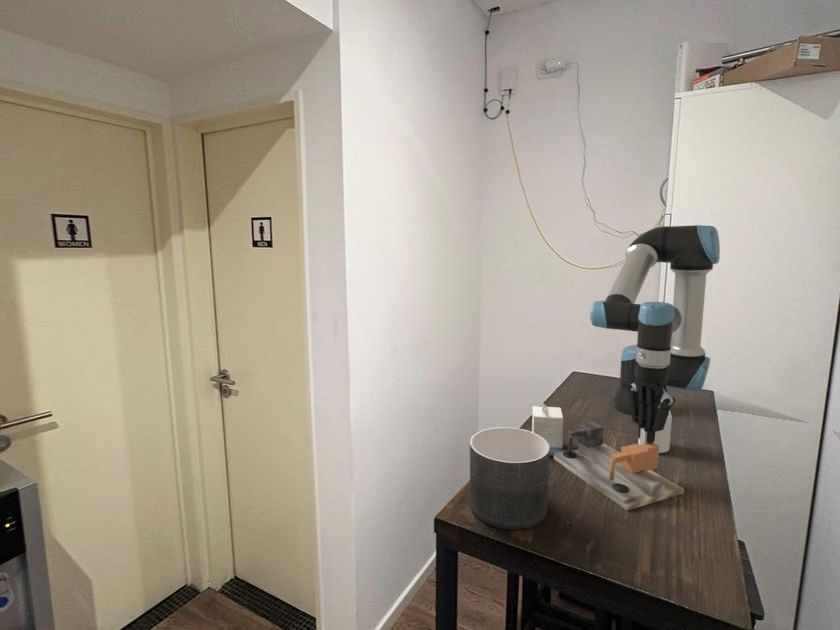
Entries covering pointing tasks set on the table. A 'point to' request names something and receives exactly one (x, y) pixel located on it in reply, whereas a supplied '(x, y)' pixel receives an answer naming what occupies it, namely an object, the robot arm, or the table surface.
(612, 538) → the table surface
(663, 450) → the beverage can
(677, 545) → the table surface
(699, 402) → the table surface
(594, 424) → the board
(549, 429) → the ink box
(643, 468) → the block
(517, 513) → the planter
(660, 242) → the robot arm
